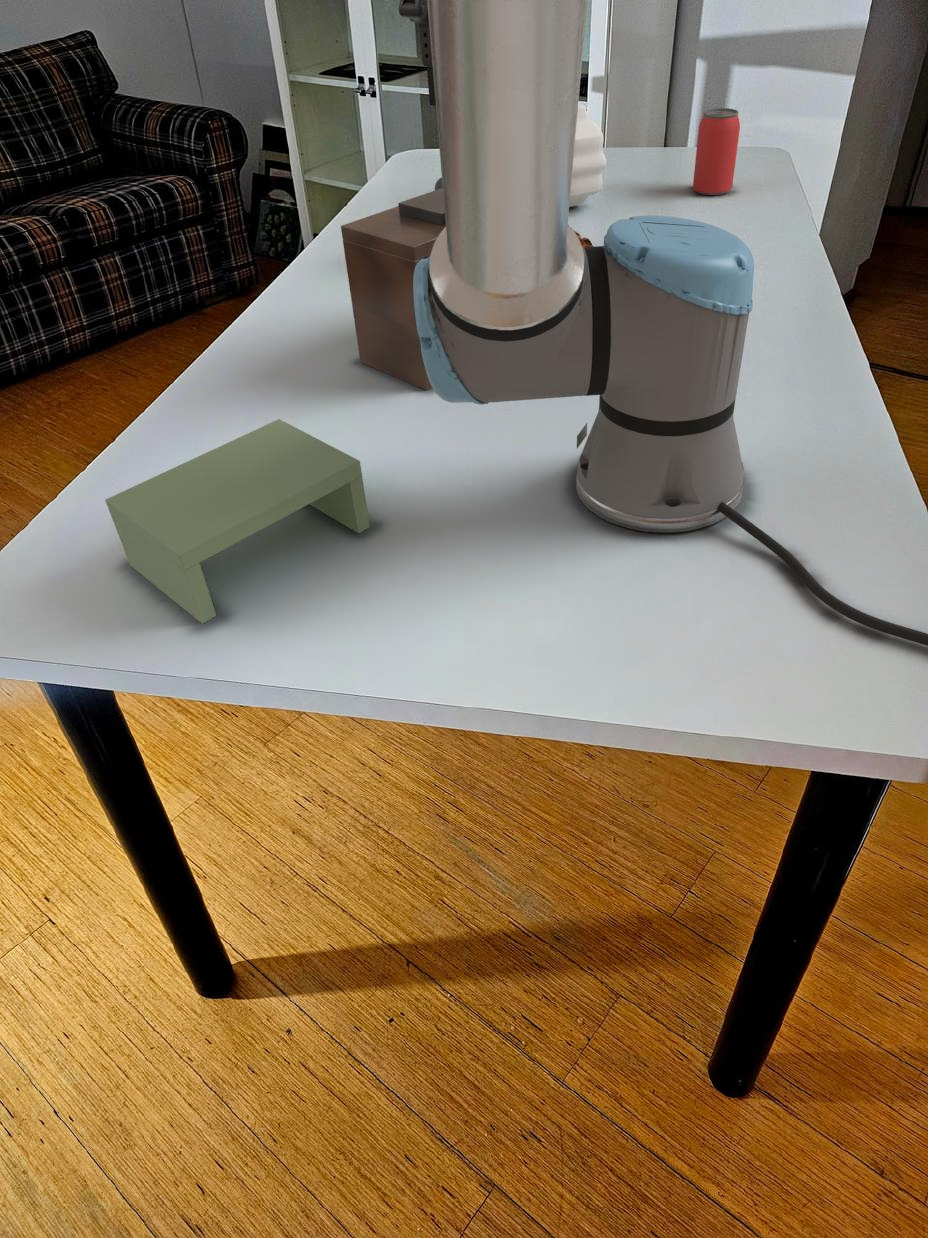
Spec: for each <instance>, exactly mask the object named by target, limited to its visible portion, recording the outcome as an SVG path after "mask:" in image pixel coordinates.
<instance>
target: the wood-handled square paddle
mask: <svg viewBox="0 0 928 1238" xmlns="http://www.w3.org/2000/svg"><path fill="white" fill-rule="evenodd" d="M397 204H398V205H397V206H399V214H401V215H405V216H408V217H412V218H416V219H420V220H424V221H428V222H431V223H435V224H439V225H444V224H446V221H445V209H444V197H443V188H441V189H438V190H435V189H434V190H431V191H430V192H426V193H423V194H421V195H417V196H415V197H412V198H409V199H405V200H403V201H400V202H397Z"/></svg>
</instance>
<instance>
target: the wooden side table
mask: <svg viewBox="0 0 928 1238" xmlns="http://www.w3.org/2000/svg"><path fill="white" fill-rule="evenodd" d="M445 227H446V224H444V225H439V224H435V223H431V222H428V221H424V220H420V219H416V218H412V217H408V216H405V215H401V214H399V206H398V205H397V206H394V207H391V208H388V209H386V210H383V211H381V212H376V213H374V214H371V215H369V216H366V217H363V218H360V219H357V220H354V221H351V222H348V223H345V224H342V225H341V226H340V230H341V238H342V246H343V253H344V258H345V265H346V272H347V279H348V280H347V281H348V286H349V293H350V300H351V308H352V313H353V314H352V316H353V321H354V327H355V335H356V336H355V337H356V342H357V349H358V355H359V362H360V363H361V364H363V365H365V366H368V367H371V368H373V369H375V370H377V371H380V372H383V373H385V374H387V375H389V376H392V377H393V378H396V379H398V380H401V381H403V382H406V383H409V384H411V385H413V386H416V387H417V388H421V389H423V390H425V391H428V390H430V389H433V388H432V386H431V383H430V381H429V378H428V375H427V372H426V369H425V365H424V361H423V357H422V352H421V343H420V338H419V334H418V330H417V325H416V317H415V308H414V294H413V277H414V270H415V267H416V265H417V263H418V262H419V261H420V260H422V259H426V258H428V257H429V256H430V255H431V252H432V248H433V246H434V243H435V241H436V239H437V237H438V236H439V234H440V233H441V232H442V230H443V229H444V228H445Z"/></svg>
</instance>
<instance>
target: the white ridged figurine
mask: <svg viewBox="0 0 928 1238" xmlns="http://www.w3.org/2000/svg"><path fill="white" fill-rule="evenodd" d="M603 148H604V134H603V132H602V130H601V129H600V128H599V127H598V126H597V124H596V123H595V122H594V121H593V120H592V119H591V117H590V116H589V113H588V110H587V107H586V106H585V104H580V103H579V101H578V113H577V124H576V135H575V147H574V158H573V170H572V181H571V192H570V204H569V208H571V207H576V206H581V205H582V204H583V205H584V203H585V202H586V200H587V199H588V198H590V196H592V195H594V194H597V193H598V192H600V191H602V189H603V172H604V171H605V170H604V169H605V168H606V165H607V158H606V156H605V153H604V149H603Z"/></svg>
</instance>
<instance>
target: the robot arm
mask: <svg viewBox="0 0 928 1238" xmlns="http://www.w3.org/2000/svg"><path fill="white" fill-rule="evenodd" d="M587 9H588V0H399V3H398V13H399V15H400V16H401V17H402V18H406V19H409V20H410V22H412V23H416V24H417V25H418V29H419V42H420V55H421V61H422V65H423V66H424V67H426V75H427V89H428V101H429V105H430V106H434V107H435V110H436V111H435V112H436V124H437V132H438V133H437V135H438V147H439V159H440V173H441V177H442V185H443V197H444V209H445V221H446V227H445V228H444V229H443V230H442V232H441V233H440V234H439V236H438V237H437V239H436V241H435V243H434V246H433V248H432V252H431V255H430V256H429V257H428V258H426V259H422V260H420V261H419V262H418V263H417V265H416V267H415V270H414V277H413V294H414V308H415V317H416V325H417V330H418V334H419V338H420V343H421V352H422V357H423V361H424V365H425V369H426V372H427V375H428V378H429V381H430V383H431V386H432V388H431V389H433V391H434V393H435V394H436V395H437V396H438V397H439V398H440V399H442V400H443V401H445V402H447V403H453V404H459V403H460V404H462V403H465V404H466V403H472V404H476V405H482V406H483V405H488V404H490V403H502V402H516V401H517V402H518V401H528V400H529V401H531V400H544V399H556V398H557V399H558V398H571V397H585V396H586V397H587V396H599V398H598V399H599V400H598V402H599V403H598V412H597V414H596V417H595V419H594V421H593V424H592V426H591V428H590V431H589V434H588V422H586V423H585V424H584V426H583V427H582V428H581V430H580V431H579V433H578V434H577V435H576V449H579V447H580V445H581V444H582V443H583V442H584V441H585V443H584V446H583V448H582V451H581V453H580V457H579V459H578V463H577V466H576V479H575V481H576V482H575V483H576V484H575V488H576V493H577V496H578V498H579V500H580V501H581V503H582V504H583V505H584V506H585V507H586V509H588V510H589V511H590V512H591V513H593V514H594V515H596V516H597V517H599V518H601V519H602V520H604V521H606V522H609V523H610V524H613V525H617V526H619V527H622V528H625V529H630V530H635V531H640V532H646V533H647V532H648V533H658V534H659V533H663V534H665V533H667V534H668V533H669V534H670V533H684V532H689V531H695V530H699V529H703V528H706V527H709V526H712V525H715V524H716V523H719V522H721V521H722V520H724V519H725V518H728V519H729V520H731V521H732V522H733V523H735V525H737V526H738V527H740V528H741V529H742V530H743V531H745V532H747V534H749V535H750V536H752V537H753V538H754V539H756V540H757V541H758V542H759V543H761V544H762V545H763V546H765V547H766V548H767V549H769V550H770V551H772V553H773V554H775V555H776V556H777V557H778V558H780V560H781V561H783V562H784V563H785V564H786V565H787V566H788V568H789V569H790V570H791V571H792V572H793V573H794V574H795V575H796V576H797V578H798V579H799V580H800V581H801V582H802V584H803V585H804V586H805V587H806V588H807V589H808V590H809V591H810V592H811V593H812V594H813V595H814V596H815V597H816V598H817V599H818V600H820V601H821V602H822V603H823V604H824V605H826V606H827V607H829V608H831V609H832V610H834V611H836V612H837V613H838V614H841V615H842V616H844V617H845V618H848V619H850V620H852V621H853V622H856V623H858V624H860V625H863V626H864V627H867V628H870V629H873V630H876V631H878V632H881V633H884V634H887V635H891V636H892V637H893V636H894V637H897V638H900V639H904V640H907V641H910V642H914V643H917V644H920V645H924V646H926V647H928V633H927V632H924V631H920V630H916V629H913V628H910V627H906V626H903V625H899V624H896V623H893V622H890V621H887V620H885V619H880V618H878V617H875V616H873V615H871V614H867V613H866V612H863V611H862V610H859V609H857V608H854V607H853V606H851V605H849V604H847V603H846V602H845V601H842V600H841V599H839V598H837V597H836V596H835V595H833V594H832V593H830V592H829V591H828V590H827V589H825V588H824V587H823V586H822V585H821V584H820V583H819V582H818V581H817V580H816V579H815V578H814V577H813V575H811V573H810V572H809V571H808V570H807V569H806V567H805V566H804V565H803V564H802V563H801V562H800V561H799V560H798V559H797V558H796V557H795V556H794V555H793V554H792V553H791V552H790V551H788V550H787V549H786V548H785V547H784V546H783V545H781V544H780V542H778V541H776V539H774V538H773V537H772V536H770V535H769V534H767V533H766V532H765V531H763V530H762V529H760V528H759V527H758V526H757V525H755V524H754V523H753V522H751V521H750V520H749V519H747V518H746V517H745V516H744V515H742V514H740V512H737V511H736V509H737V508H738V506H739V504H740V503H741V499H742V494H743V491H744V484H745V468H744V463H743V461H742V456H741V450H740V444H739V439H738V434H737V429H736V425H735V424H736V423H735V420H734V419H735V418H734V413H735V407H736V399H737V393H738V387H739V379H740V374H741V367H742V361H743V353H744V348H745V343H746V342H745V341H746V335H747V329H748V323H749V317H750V313H751V312H752V310H753V306H754V305H753V291H754V290H753V289H754V273H755V261H754V256H753V254H752V251H751V250H750V248H749V247H748V245H747V244H746V243H745V242H744V241H743V240H742V239H741V238H739V237H738V236H736V235H735V234H733V233H732V232H730V231H728V230H727V229H723V228H721V227H718V226H716V225H713V224H710V223H707V222H706V223H705V222H702V221H700V220H699V221H698V220H694V219H690V218H684V217H677V216H669V215H635V216H631V217H629V218H626V219H625V218H622V219H619V220H616V221H614V222H613V223H611V224H610V225H609V227H608V229H607V231H606V234H605V235H604V237H603V245H598V246H596V245H595V246H594V247H582V245H581V243H580V241H579V239H578V237H577V235H576V233H575V232H574V231H575V230H574V229H573V228H572V226H570V224H569V214H570V207H569V204H570V192H571V181H572V170H573V158H574V147H575V135H576V124H577V113H578V102H579V100H580V88H581V79H582V78H581V77H582V67H583V66H582V65H583V55H584V44H585V32H586V21H587ZM573 230H574V231H573ZM586 438H587V439H586ZM585 439H586V440H585Z"/></svg>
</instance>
